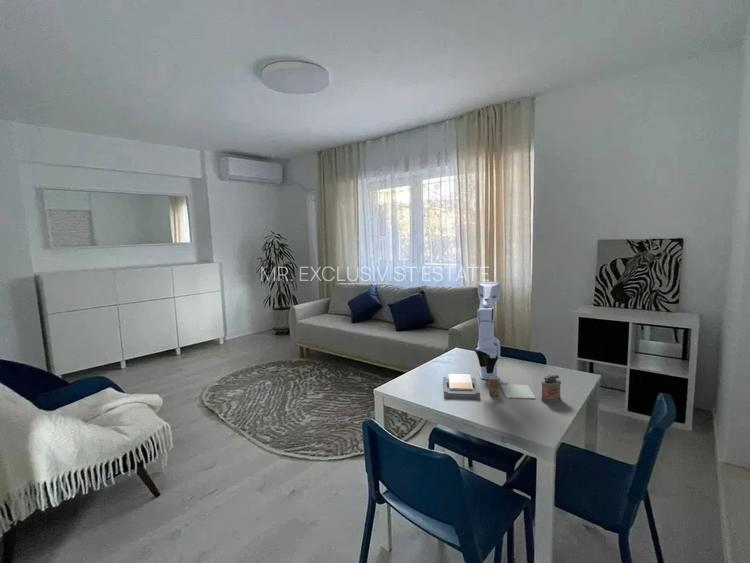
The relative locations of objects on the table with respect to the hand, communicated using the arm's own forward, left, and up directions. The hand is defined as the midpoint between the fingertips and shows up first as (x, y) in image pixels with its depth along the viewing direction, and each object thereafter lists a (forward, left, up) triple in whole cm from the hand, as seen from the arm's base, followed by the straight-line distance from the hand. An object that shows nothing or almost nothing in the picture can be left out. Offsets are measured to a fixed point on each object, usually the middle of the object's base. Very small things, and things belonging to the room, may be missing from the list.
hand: (486, 369), depth 150 cm
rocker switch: (-3, -10, -7) cm, 13 cm away
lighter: (+4, +24, -11) cm, 26 cm away
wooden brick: (0, +3, -10) cm, 11 cm away
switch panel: (-3, -10, -10) cm, 15 cm away
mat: (-3, +13, -10) cm, 17 cm away
